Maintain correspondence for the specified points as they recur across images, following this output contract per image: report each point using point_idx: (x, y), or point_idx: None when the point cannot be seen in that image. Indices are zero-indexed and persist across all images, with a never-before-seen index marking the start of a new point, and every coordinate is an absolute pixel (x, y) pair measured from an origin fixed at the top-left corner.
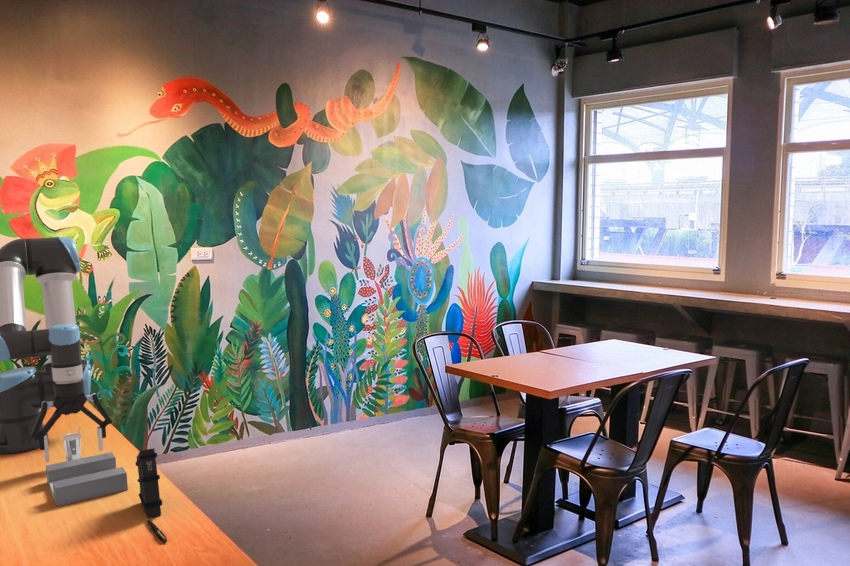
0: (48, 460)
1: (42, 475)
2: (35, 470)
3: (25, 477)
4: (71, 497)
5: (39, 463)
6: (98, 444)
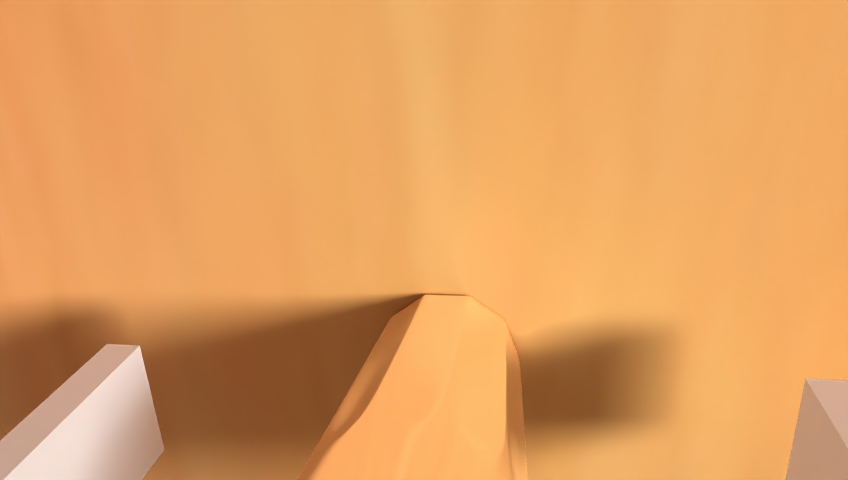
0: (150, 460)
1: (161, 429)
2: (76, 246)
3: (23, 381)
4: None
5: (78, 11)
6: (831, 438)
